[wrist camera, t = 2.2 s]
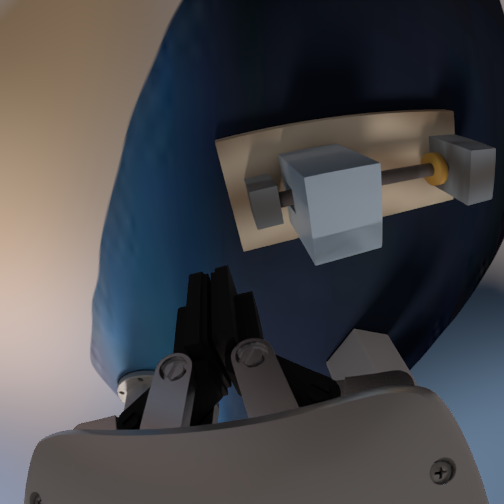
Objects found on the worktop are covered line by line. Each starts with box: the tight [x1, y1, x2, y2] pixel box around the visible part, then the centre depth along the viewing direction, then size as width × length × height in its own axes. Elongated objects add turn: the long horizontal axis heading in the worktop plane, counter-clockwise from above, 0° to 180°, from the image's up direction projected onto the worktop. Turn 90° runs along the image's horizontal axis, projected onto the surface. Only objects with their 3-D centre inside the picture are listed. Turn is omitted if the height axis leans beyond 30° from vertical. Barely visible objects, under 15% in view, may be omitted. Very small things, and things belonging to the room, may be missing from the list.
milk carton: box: [326, 329, 418, 386], centre depth 30 cm, size 7×7×19 cm
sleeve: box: [278, 143, 382, 265], centre depth 20 cm, size 6×5×7 cm
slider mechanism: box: [215, 109, 496, 251], centre depth 22 cm, size 10×24×8 cm, turn 102°
